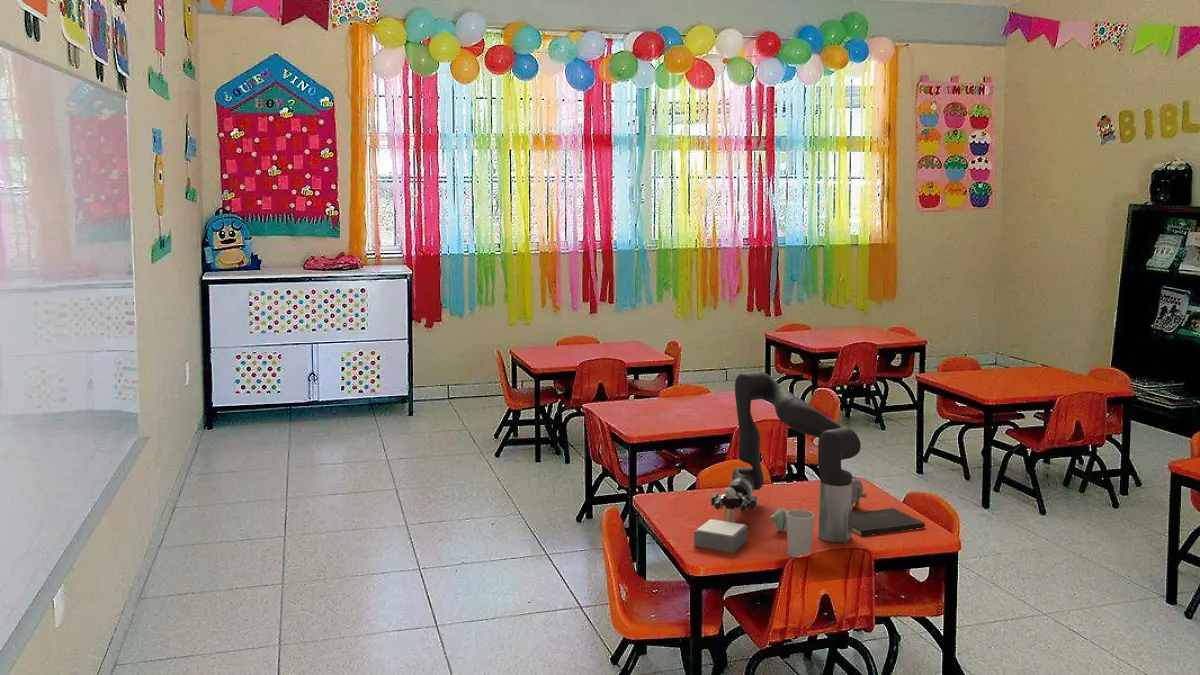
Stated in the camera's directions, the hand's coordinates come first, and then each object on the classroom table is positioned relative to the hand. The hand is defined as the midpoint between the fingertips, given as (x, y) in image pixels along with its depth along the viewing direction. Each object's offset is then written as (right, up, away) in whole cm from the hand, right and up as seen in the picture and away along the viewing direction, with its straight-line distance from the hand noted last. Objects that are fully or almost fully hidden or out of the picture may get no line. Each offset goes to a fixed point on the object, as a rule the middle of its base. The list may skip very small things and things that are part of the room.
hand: (729, 507), depth 317 cm
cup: (+18, -11, -18) cm, 27 cm away
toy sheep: (+41, -4, +27) cm, 49 cm away
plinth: (-4, -9, -9) cm, 13 cm away
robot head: (+16, -8, +3) cm, 18 cm away
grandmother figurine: (0, -7, +3) cm, 8 cm away
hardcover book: (+47, -8, +10) cm, 49 cm away
